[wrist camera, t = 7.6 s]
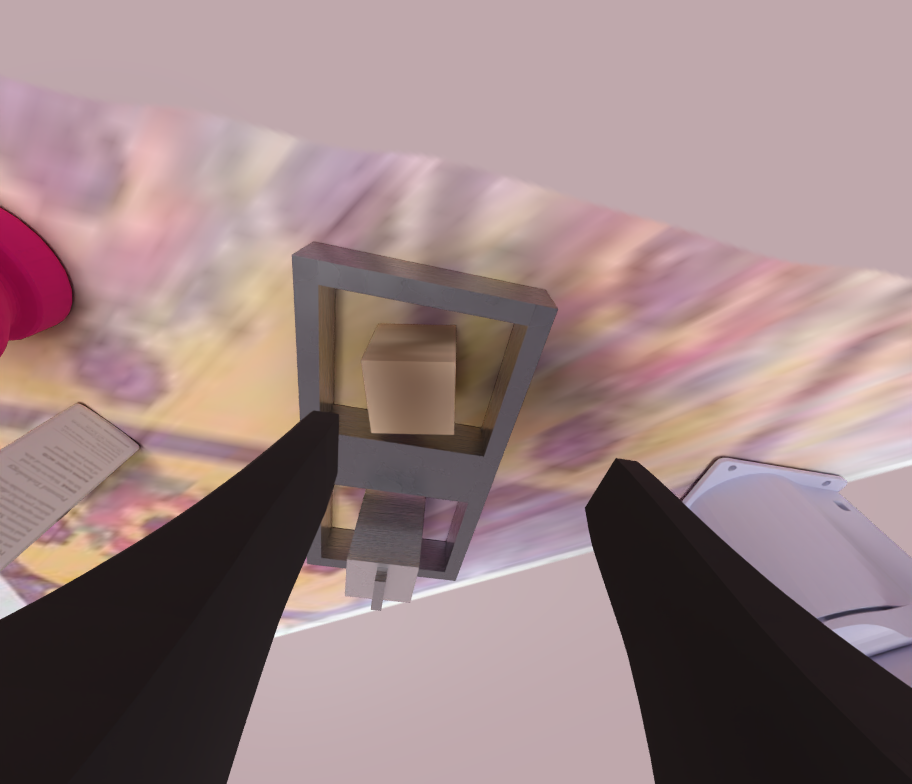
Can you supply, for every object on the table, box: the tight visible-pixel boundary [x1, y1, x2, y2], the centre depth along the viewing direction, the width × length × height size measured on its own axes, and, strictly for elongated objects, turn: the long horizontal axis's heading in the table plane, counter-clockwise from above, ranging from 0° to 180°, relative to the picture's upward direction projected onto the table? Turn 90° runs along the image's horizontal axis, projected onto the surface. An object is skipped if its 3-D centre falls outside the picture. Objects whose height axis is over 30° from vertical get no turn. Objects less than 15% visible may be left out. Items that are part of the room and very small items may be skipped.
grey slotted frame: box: [292, 242, 558, 581], centre depth 22 cm, size 11×22×2 cm, turn 169°
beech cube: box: [361, 324, 456, 435], centre depth 18 cm, size 4×4×4 cm
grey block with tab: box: [345, 489, 426, 611], centre depth 23 cm, size 4×4×7 cm
